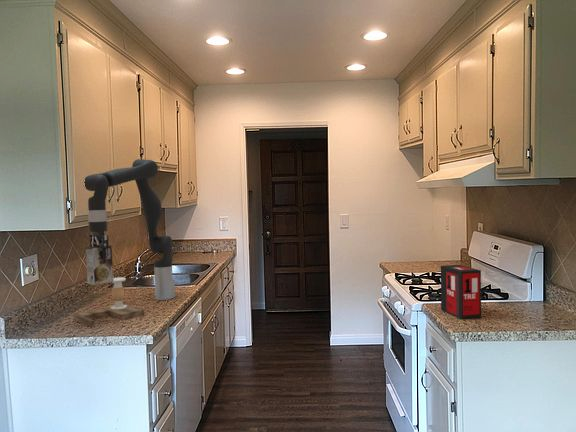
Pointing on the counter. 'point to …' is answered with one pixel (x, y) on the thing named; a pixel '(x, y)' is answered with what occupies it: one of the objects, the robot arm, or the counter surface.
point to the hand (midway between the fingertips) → (99, 258)
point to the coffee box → (99, 266)
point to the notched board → (107, 314)
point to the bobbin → (118, 294)
